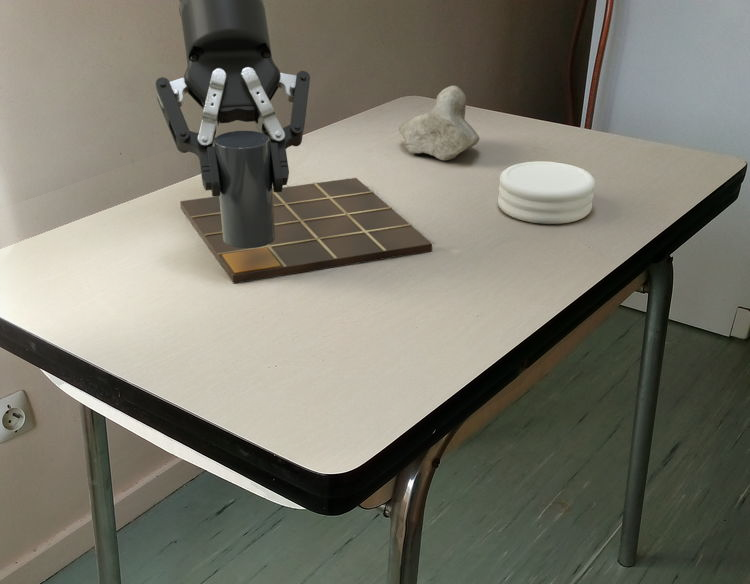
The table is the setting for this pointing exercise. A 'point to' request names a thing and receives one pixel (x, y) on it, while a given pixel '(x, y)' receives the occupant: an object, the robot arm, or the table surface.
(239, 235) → the glossy charcoal cylinder
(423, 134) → the stone
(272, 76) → the robot arm
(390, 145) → the table surface
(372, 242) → the board
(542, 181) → the white ribbed disc
